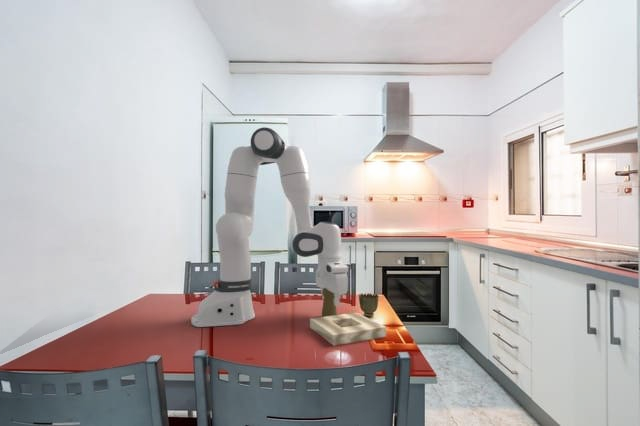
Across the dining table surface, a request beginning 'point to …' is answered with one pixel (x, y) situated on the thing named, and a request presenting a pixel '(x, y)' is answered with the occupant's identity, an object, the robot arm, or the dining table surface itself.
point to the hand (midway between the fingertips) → (330, 302)
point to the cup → (368, 304)
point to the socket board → (347, 328)
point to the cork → (328, 304)
